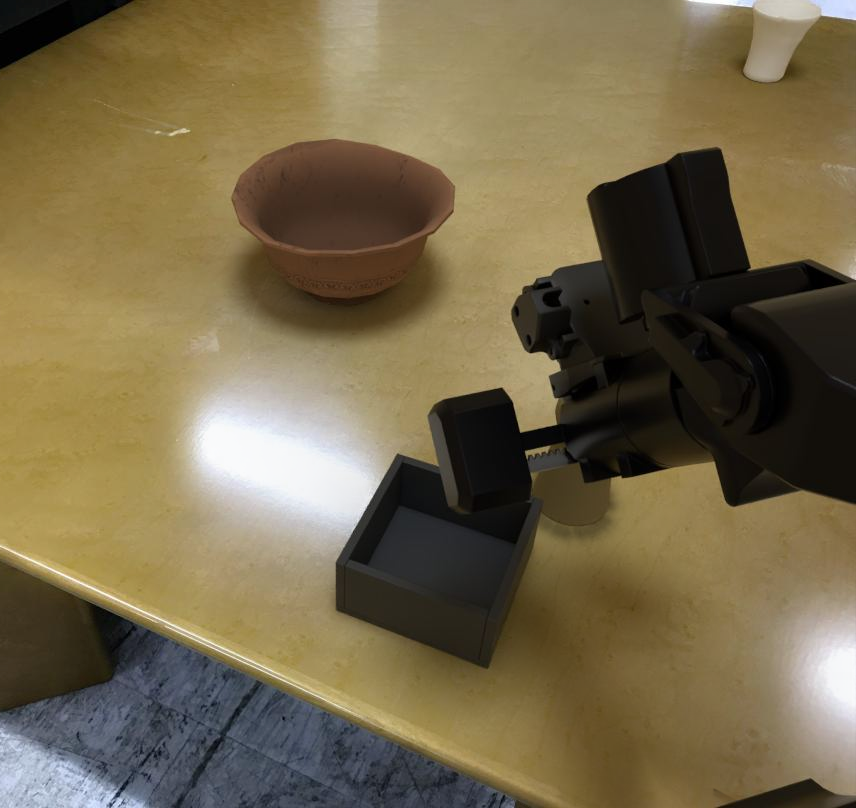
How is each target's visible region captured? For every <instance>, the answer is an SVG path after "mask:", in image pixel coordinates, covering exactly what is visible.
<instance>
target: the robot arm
mask: <svg viewBox="0 0 856 808" xmlns="http://www.w3.org/2000/svg"><path fill="white" fill-rule="evenodd" d="M724 157H725V156H724V154H723V151H722V149H721V148H720V147H718V146H712V147H706V148H701V149H694V150H688V151H687V150H686V151H682V152H677V153H676V154H674V155H673V156H671V157H670V158H669V159H667V161H666V162H662V163H658V164H656V165H653V166H648V167H646V168H642V169H640V170H638V171H635V172H633V173H630V174H627V175H624V176H622V177H620V178H619V179H618V178H617V179H616V180H611V181H606V182H602V183H599V184H598V185H597V186H595V187H594V188H592V189H591V191H590V192H589V193H588V194H587V195H586V199H585V200H586V205H587V207H588V211H589V212H588V213H589V215H590V218H591V223H592V227H593V231H594V235H595V237H596V238H595V239H596V242H597V246H598V249H599V254H600V257H601V259H599V260H594V261H587V262H583V263H576V264H570V265H565V266H561V267H558V268H555V270H554V271H553V272H552V273H551V275H546V276H541V277H536V278H535V280H534V282H533V283H532V284H530V285H524V286H523V287H522V289H521V294H519V295H518V296H517V297H516V299H515V301H514V303H513V305H512V307H511V309H510V310H511V311H510V315H511V316H510V317H511V322H512V324H513V327H514V329H515V332H516V334H517V336H518V339H519V340H520V343H521V345H522V348H523V350H524V351H525V352H527V353H529V354H530V355H531V354H536V353H544V354H546V355H547V357H548V359H549V360H550V361H556V362H557V363H558V365H559V369H560V370H559V371H557V372H554V373H551V374H549V375H548V380H549V383H550V388H551V391H552V395H553V398H554V399H555V400H556V399H557V400H558V399H559V398H562V397H563V401H564V403H563V404H562V405H561V409H560V417H559V423H560V424H558V425H557V424H553V425H550V426H545V427H539V428H535V429H531V430H530V429H529V430H525V431H521V430H520V425H519V421H518V417H517V413H516V409H515V405H514V401H513V400H512V398H511V397H510V396H509V394H508V393H507V391H506V390H505V389H504V387H501V386H500V387H496V388H493V389H492V388H491V389H486V390H482V391H477V392H472V393H468V394H467V393H466V394H462V395H458V396H457V395H456V396H453V397H448V398H443V399H442V400H439V401H437V402H435V403H434V404H433V406H432V407H431V409H430V410H429V412H428V414H427V415H426V417H427V421H428V426H429V430H430V433H431V439H432V442H433V447H434V452H435V456H436V461H437V464H438V466H439V469H440V473H441V477H442V481H443V486H444V490H445V494H446V499H447V503H448V507H450V508H451V509H453V510H454V511H456V512H457V513H459V514H460V515H461V514H472V513H477V512H481V511H485V510H490V509H494V508H498V507H503V506H507V505H511V504H516V503H520V502H524V501H529V500H530V497H531V496H532V489H533V484H534V483H533V479H532V475H533V474H536V473H537V474H538V473H539V472H541V471H546V470H550V469H555V468H559V467H564V466H568V465H573V464H577V463H579V464H580V468H581V472H582V476H583V480H584V483H592V482H597V481H601V480H606V479H610V478H611V479H614V478H619V477H621V479H622V480H623V479H630V478H636V477H640V476H643V475H648V474H652V473H657V472H661V471H665V470H669V469H675V468H681V467H687V466H693V465H694V466H695V465H700V464H708V463H714V465H715V469H716V473H717V477H718V480H719V484H720V487H721V491H722V495H723V498H724V499H723V500H724V501H725V503H726V504H727V505H728V506H729V507H732V508H737V507H741V506H745V505H749V504H754V503H756V502H757V503H758V502H760V501H765V500H770V499H774V498H778V497H783V496H786V495H790V494H794V493H799V492H805V493H810V494H814V495H817V496H820V497H823V498H827V499H830V500H835V501H837V502H841V503H845V504H848V505H851V506H856V279H855V278H852V277H850V276H848V275H846V274H844V273H841V272H840V271H838V270H835V269H833V268H831V267H828V266H826V265H824V264H822V263H820V262H818V261H815V260H813V259H811V258H807V259H801V260H795V261H790V262H785V263H779V264H774V265H768V266H764V267H758V268H754V269H753V268H752V266H751V262H750V258H749V255H748V252H747V247H746V244H745V240H744V238H743V237H744V236H743V234H742V230H741V226H740V223H739V220H738V219H739V218H738V216H737V213H736V209H735V205H734V201H733V199H732V193H731V186H730V176H729V173H728V168H727V164H726V161H725V158H724ZM560 443H565V445H566V447H567V449H568V450H567V449H566V447H563V448H561V451H560V450H559V449H555V451H554V452H553V451H552V450H550V451H548V450H547V451H541V452H540V453H539V452H536V453H534V455H533V454H532V453H531V454H528V455H527V454H526V452H528V451H533V450H537V449H541V448H546V447H550V446H551V445H555V444H560ZM547 452H548V455H547ZM714 808H856V795H849V794H840V793H835V792H833V791H831V790H829V789H826V788H825V787H823V786H822V785H820V784H819V783H818V782H817V781H815V780H814V779H813V778H812V777H810V778H806V779H803V780H800V781H797V782H793V783H790V784H786V785H784V786H780V787H777V788H773V789H771V790H767V791H764V792H761V793H758V794H754V795H751V796H748V797H744V798H742V799H739V800H735V801H731V802H728V803H726V804H725V803H724V804H722V805H719V806H715V807H714Z"/></svg>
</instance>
